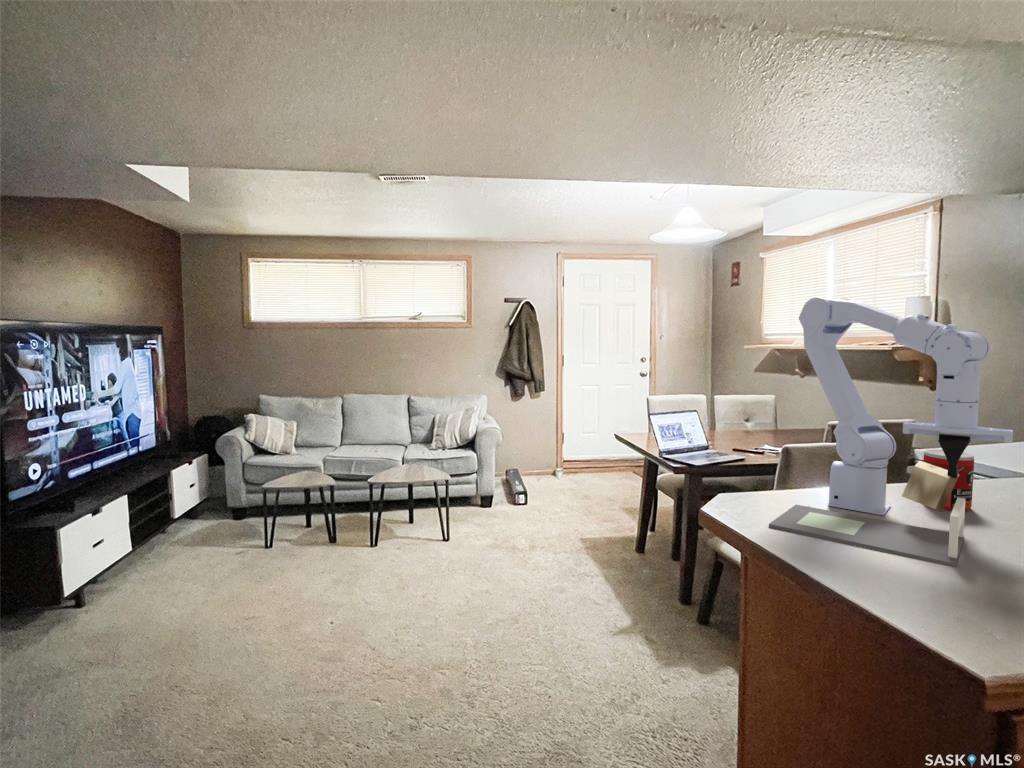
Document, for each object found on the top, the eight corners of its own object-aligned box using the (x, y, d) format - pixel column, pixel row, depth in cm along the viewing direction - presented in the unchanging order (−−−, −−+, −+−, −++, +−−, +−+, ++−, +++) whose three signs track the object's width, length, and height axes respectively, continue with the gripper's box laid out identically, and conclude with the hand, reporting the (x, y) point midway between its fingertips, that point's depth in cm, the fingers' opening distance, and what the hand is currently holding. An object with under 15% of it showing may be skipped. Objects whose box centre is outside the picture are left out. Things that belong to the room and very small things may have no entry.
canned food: (960, 515, 102) (963, 458, 101) (913, 504, 109) (915, 451, 108) (979, 509, 106) (982, 454, 105) (932, 499, 113) (935, 448, 112)
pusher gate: (948, 556, 80) (950, 515, 79) (955, 534, 89) (957, 497, 89) (956, 558, 79) (958, 517, 79) (963, 535, 88) (965, 498, 88)
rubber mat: (768, 527, 96) (768, 523, 96) (795, 507, 108) (795, 504, 108) (955, 567, 78) (955, 563, 78) (963, 538, 90) (963, 535, 90)
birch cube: (942, 512, 92) (901, 496, 95) (945, 504, 96) (906, 489, 100) (956, 480, 90) (914, 466, 94) (959, 474, 94) (919, 460, 98)
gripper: (901, 400, 94) (898, 475, 95) (1014, 406, 84) (1009, 490, 85) (907, 397, 99) (904, 469, 100) (1014, 402, 89) (1010, 482, 90)
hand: (952, 478), depth 93 cm, fingers closed, pressing on birch cube
